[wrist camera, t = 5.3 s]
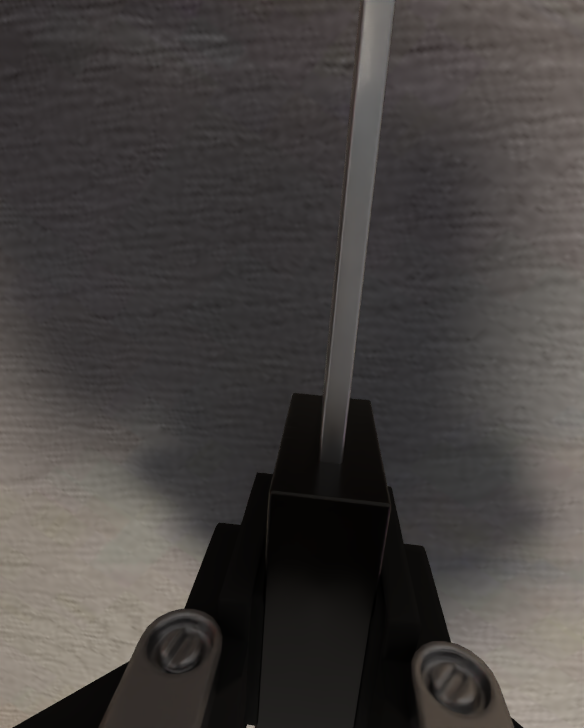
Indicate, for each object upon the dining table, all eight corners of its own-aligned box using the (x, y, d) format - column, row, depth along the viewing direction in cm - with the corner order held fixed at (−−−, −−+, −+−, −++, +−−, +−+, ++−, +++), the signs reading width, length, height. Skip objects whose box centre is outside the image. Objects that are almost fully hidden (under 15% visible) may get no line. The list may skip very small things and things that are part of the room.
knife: (330, -143, 7) (327, -523, 4) (441, -141, 7) (558, -531, 4) (275, 624, 13) (250, 800, 9) (340, 633, 12) (343, 814, 9)
